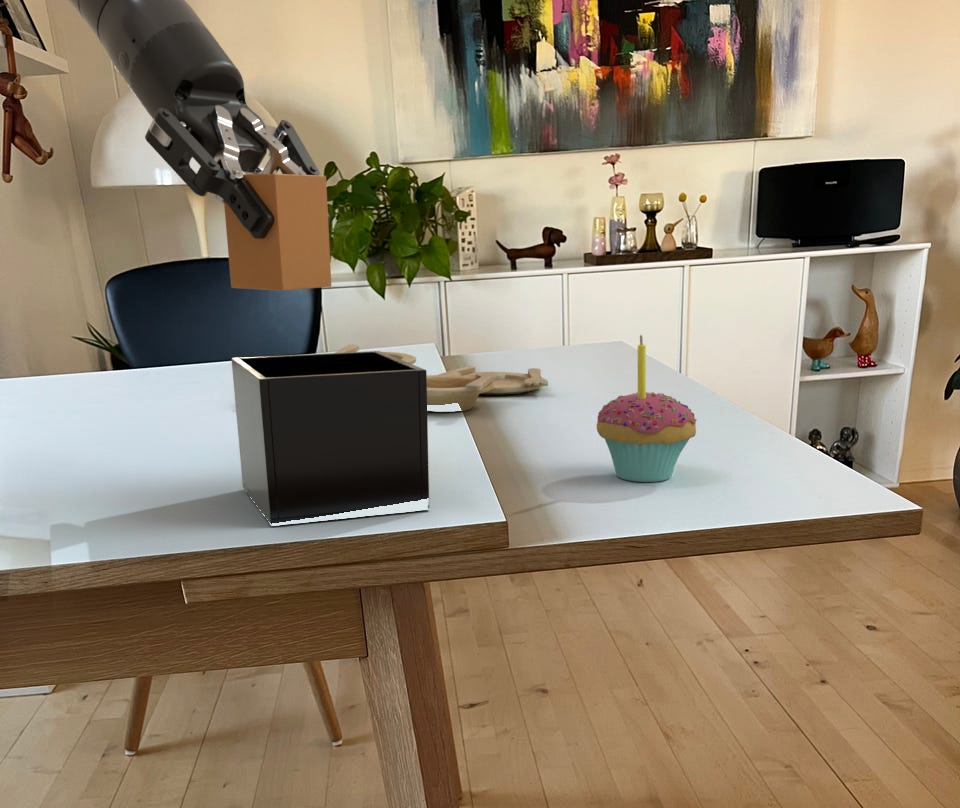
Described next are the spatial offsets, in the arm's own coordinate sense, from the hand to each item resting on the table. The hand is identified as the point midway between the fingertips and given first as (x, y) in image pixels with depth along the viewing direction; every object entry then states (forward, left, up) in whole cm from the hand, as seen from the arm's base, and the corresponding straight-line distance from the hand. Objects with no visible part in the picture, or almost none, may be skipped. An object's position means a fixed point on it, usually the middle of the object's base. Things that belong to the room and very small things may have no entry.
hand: (295, 229), depth 79 cm
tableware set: (+22, +43, -20) cm, 52 cm away
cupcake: (+28, -6, -20) cm, 35 cm away
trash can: (+1, -4, -20) cm, 20 cm away
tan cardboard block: (-1, +1, -4) cm, 5 cm away
